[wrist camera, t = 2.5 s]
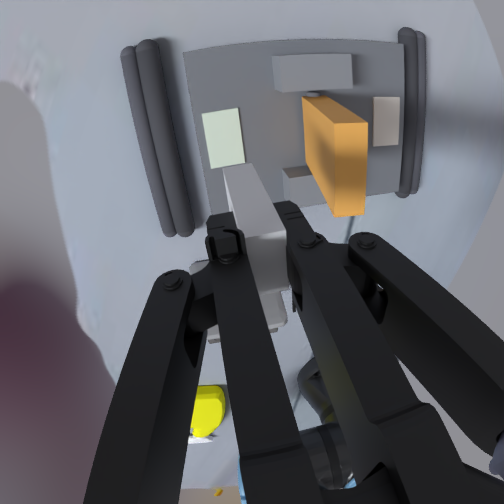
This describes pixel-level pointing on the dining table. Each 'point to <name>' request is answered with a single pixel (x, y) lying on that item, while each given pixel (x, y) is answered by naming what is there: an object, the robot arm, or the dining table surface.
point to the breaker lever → (336, 153)
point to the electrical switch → (269, 302)
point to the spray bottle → (207, 413)
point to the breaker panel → (293, 110)
